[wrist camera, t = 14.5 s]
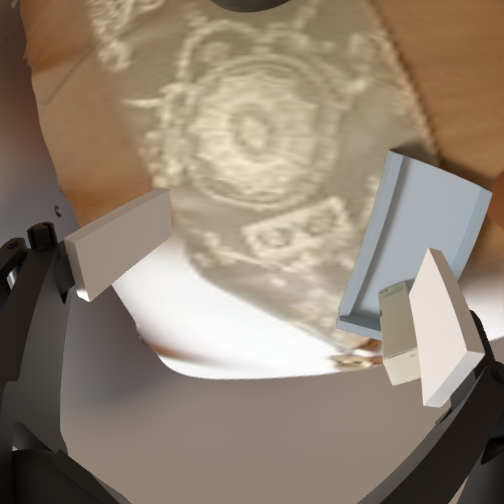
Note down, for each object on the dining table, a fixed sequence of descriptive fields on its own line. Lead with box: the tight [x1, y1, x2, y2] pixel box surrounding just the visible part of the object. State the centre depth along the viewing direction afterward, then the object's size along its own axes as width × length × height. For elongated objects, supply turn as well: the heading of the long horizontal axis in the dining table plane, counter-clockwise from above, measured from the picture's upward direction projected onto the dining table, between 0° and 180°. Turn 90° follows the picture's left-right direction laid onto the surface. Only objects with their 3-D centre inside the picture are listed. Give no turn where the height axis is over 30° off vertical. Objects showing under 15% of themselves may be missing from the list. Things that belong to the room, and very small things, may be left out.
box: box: [378, 282, 421, 385], centre depth 30 cm, size 5×4×13 cm
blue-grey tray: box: [336, 150, 492, 341], centre depth 33 cm, size 24×14×5 cm, turn 171°
